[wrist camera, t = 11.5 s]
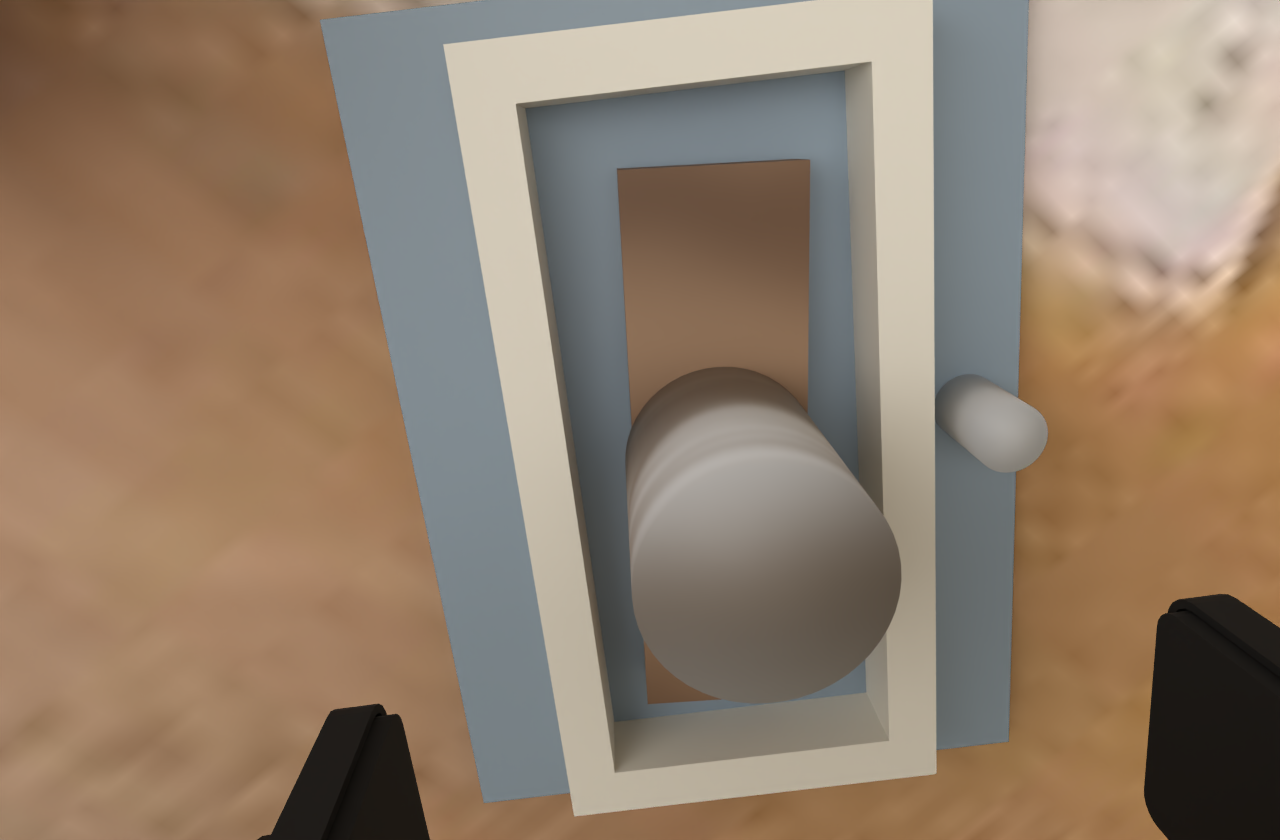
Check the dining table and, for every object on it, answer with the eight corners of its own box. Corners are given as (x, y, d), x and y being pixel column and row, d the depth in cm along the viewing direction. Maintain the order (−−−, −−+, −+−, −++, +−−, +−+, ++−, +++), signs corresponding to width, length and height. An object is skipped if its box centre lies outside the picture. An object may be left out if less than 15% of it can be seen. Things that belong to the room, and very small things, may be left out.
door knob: (607, 168, 19) (606, 180, 12) (803, 158, 19) (922, 163, 12) (637, 670, 23) (650, 906, 16) (800, 659, 23) (886, 890, 16)
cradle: (487, 782, 25) (469, 875, 22) (332, 25, 18) (274, -1, 15) (996, 723, 25) (1052, 806, 22) (1012, -56, 18) (1096, -98, 15)
